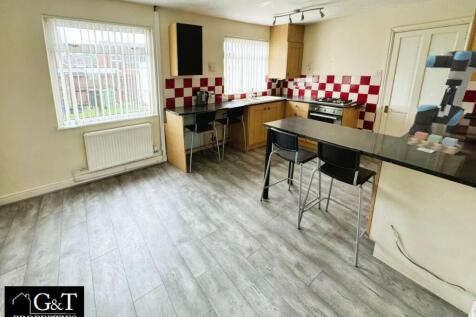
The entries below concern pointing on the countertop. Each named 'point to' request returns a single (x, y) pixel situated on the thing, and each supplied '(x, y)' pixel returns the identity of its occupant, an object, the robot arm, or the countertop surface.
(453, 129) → the travel mug
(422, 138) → the terracotta key
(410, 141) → the key panel
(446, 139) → the slate key
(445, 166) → the countertop surface
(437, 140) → the sage key
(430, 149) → the card
